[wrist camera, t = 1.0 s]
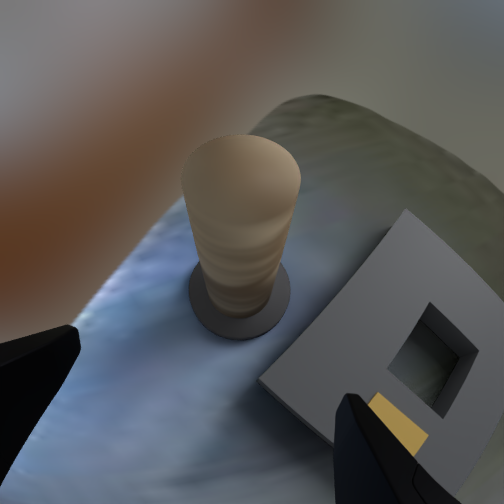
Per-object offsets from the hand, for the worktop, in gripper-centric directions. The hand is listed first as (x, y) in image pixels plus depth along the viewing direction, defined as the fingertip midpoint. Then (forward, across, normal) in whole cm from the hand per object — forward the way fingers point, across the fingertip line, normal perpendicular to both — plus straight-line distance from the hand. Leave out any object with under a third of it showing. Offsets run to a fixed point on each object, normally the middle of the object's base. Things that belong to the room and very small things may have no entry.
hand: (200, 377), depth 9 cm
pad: (+16, 0, +4) cm, 16 cm away
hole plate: (+13, -16, +7) cm, 22 cm away
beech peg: (+15, 0, +4) cm, 15 cm away
